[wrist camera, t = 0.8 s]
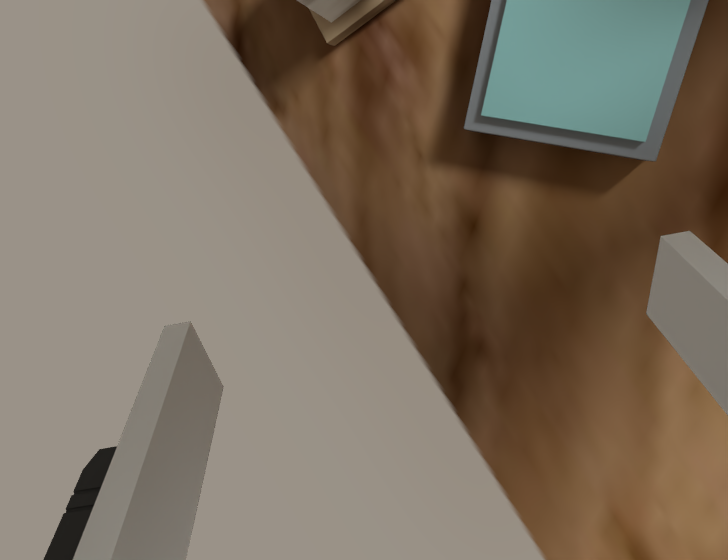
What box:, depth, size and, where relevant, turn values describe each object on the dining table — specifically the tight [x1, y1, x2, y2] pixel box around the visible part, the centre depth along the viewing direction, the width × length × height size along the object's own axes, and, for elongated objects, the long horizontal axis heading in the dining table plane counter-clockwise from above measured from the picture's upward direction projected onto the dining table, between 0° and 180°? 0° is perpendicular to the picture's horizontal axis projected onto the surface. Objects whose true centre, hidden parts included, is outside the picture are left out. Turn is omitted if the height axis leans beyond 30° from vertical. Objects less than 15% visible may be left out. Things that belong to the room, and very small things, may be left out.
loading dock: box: [464, 0, 709, 161], centre depth 32 cm, size 14×12×4 cm
